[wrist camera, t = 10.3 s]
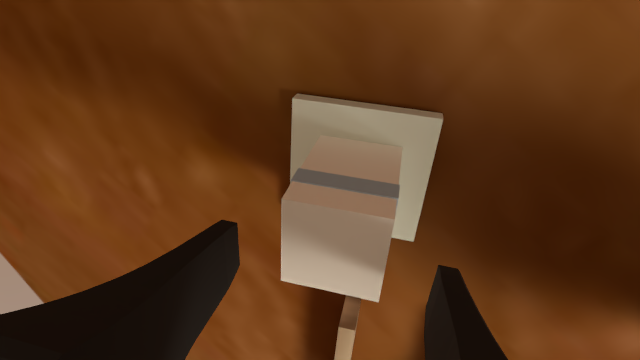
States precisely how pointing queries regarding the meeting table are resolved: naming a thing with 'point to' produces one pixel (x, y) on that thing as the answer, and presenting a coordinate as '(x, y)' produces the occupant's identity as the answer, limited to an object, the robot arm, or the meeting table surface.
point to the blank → (341, 217)
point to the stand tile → (376, 127)
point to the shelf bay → (347, 328)
